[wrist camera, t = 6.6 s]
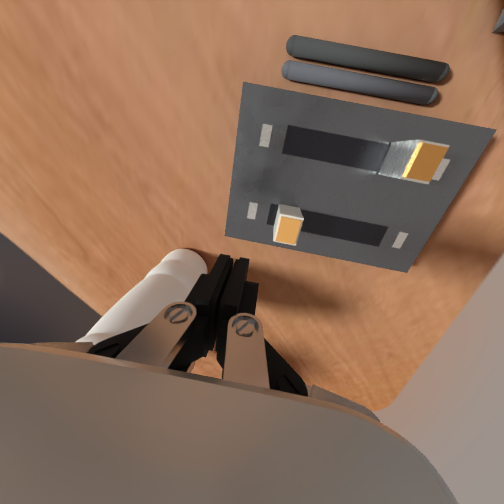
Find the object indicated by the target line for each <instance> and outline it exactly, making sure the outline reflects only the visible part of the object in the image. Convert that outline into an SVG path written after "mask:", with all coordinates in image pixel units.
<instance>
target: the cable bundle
mask: <svg viewBox="0 0 504 504" xmlns="http://www.w3.org/2000/svg"><path fill="white" fill-rule="evenodd" d="M286 49H287V52H288V54H289V55H290V56H294V57H300V58H305V59H310V60H316V61H321V62H327V63H332V64H337V65H343V66H348V67H353V68H359V69H364V70H370V71H375V72H380V73H386V74H391V75H396V76H402V77H407V78H413V79H418V80H423V81H429V82H439V81H441V80H443V79H444V78H445V77H446V76H447V74H448V72H449V69H450V67H449V65H448V64H447V63H444V62H438V61H433V60H428V59H422V58H417V57H411V56H406V55H400V54H395V53H390V52H384V51H379V50H373V49H368V48H362V47H357V46H352V45H346V44H341V43H335V42H330V41H324V40H319V39H314V38H308V37H303V36H297V35H293V36H291V37H290V38H289V39H288V41H287V45H286ZM282 75H283V77H284V78H285V79H289V80H294V81H299V82H305V83H310V84H315V85H321V86H326V87H331V88H336V89H342V90H347V91H352V92H358V93H363V94H368V95H374V96H379V97H384V98H390V99H395V100H400V101H406V102H411V103H416V104H422V105H428V104H430V103H432V102H433V101H434V100H435V99H436V97H437V95H438V90H437V88H435V87H430V86H425V85H420V84H414V83H409V82H404V81H398V80H393V79H388V78H382V77H377V76H371V75H366V74H361V73H355V72H350V71H345V70H339V69H334V68H329V67H323V66H318V65H312V64H307V63H302V62H296V61H291V60H289V61H286V62H285V63H284V65H283V67H282Z"/></svg>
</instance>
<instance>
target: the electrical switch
mask: <svg viewBox="0 0 504 504" xmlns="http://www.w3.org/2000/svg"><path fill="white" fill-rule="evenodd" d="M499 32H504V9H503V11H502V13H501V15H500V17H499V19H498V22H497V24H496V26H495V28H494V31H493V32H492V33H499Z"/></svg>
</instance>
